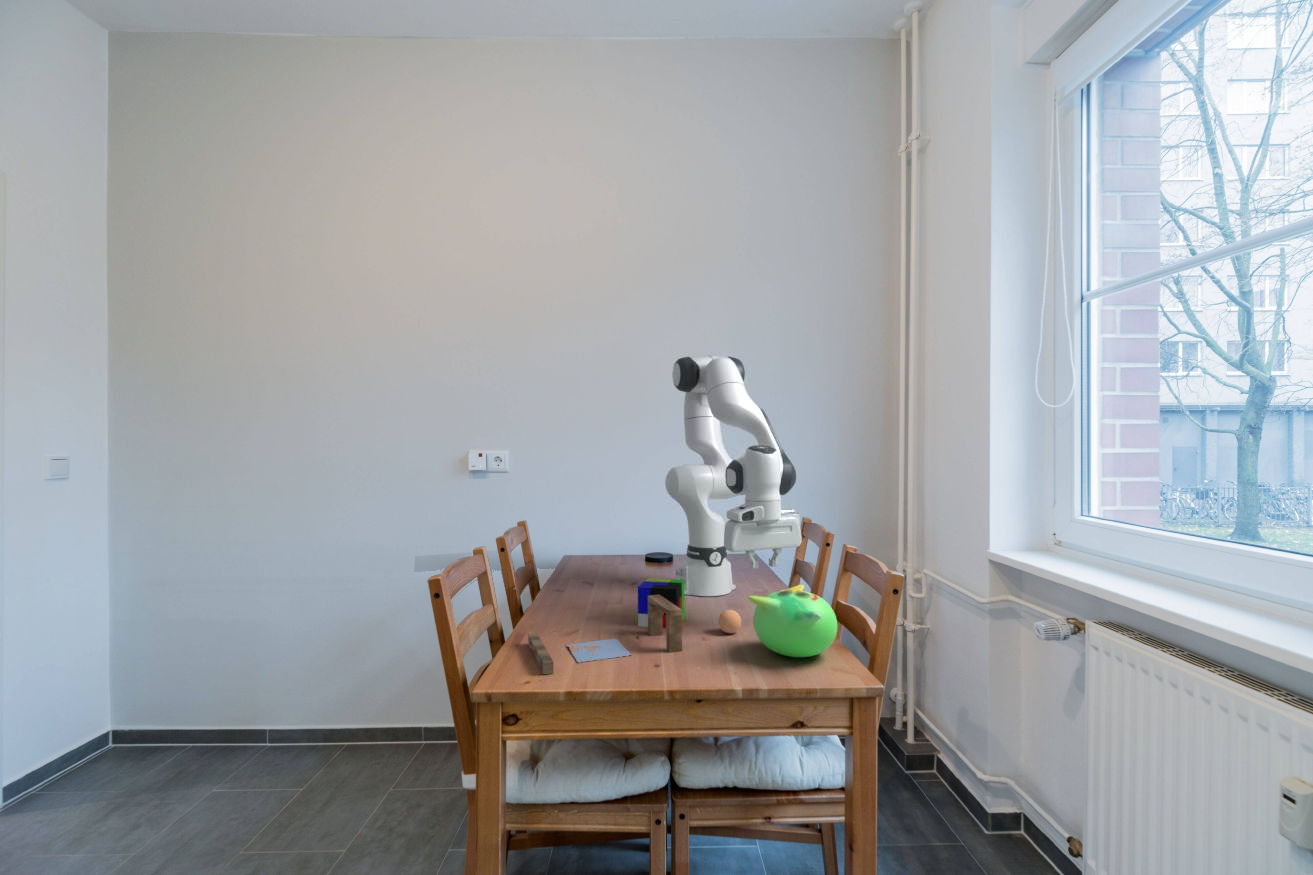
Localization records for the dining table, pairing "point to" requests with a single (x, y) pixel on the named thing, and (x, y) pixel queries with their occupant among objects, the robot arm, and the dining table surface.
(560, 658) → the dining table surface
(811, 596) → the round green monster toy
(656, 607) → the bridge
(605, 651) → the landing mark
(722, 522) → the robot arm
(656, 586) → the puzzle toy
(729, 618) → the ball
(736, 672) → the dining table surface
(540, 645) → the stopper
